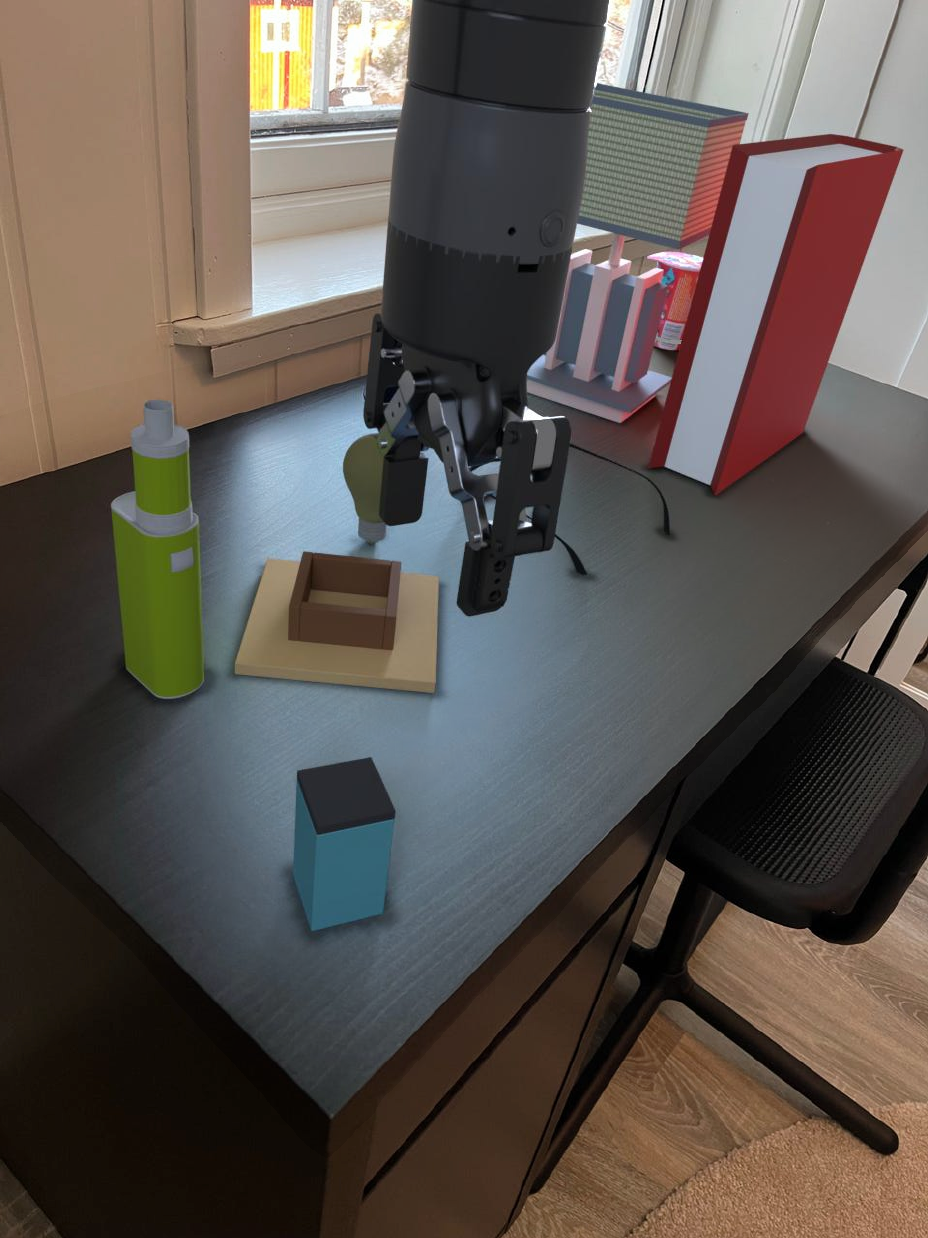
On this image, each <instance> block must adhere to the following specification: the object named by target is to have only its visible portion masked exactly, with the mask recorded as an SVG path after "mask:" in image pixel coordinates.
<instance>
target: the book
mask: <svg viewBox="0 0 928 1238" xmlns="http://www.w3.org/2000/svg"><path fill="white" fill-rule="evenodd" d="M903 153H904V149H903V148H901V147H898V146H895V145H891V144H886V143H881V142H876V141H871V140H868V139H862V138H858V137H853V136H850V135H849V136H848V135H842V134H835V133H827V134H819V135H809V136H800V137H790V138H783V139H772V140H765V141H756V142H755V141H754V142H748V143H747V142H745V143H740V144H737V145H733V146H732V150H731V154H730V158H729V162H728V166H727V169H726V173H725V177H724V181H723V185H722V188H721V192H720V196H719V200H718V204H717V207H716V211H715V215H714V219H713V223H712V227H711V230H710V234H709V236H708V239H707V242H706V246H705V250H704V254H703V256H702V258H703V261H702V265H701V268H700V272H699V276H698V280H697V284H696V288H695V291H694V295H693V299H692V303H691V307H690V310H689V314H688V318H687V322H686V326H685V330H684V333H683V337H682V341H681V345H680V349H679V350H678V353H677V357H676V360H675V364H674V368H673V371H672V376H671V378H672V379H671V383H670V384H669V387H668V391H667V395H666V398H665V402H664V407H663V410H662V413H661V418H660V422H659V425H658V429H657V433H656V436H655V440H654V444H653V448H652V451H651V455H650V459H649V463H648V467H647V468H648V469H653V468H667V469H670V470H672V471H674V472H677V473H680V474H681V475H684V476H686V477H689V478H692V479H694V480H696V481H699V482H701V483H704V484H706V485H709V486H710V488H711V490H712V493H713V496H717V495H718V494H719V493H721V492H722V491H724V490H725V489H726V488H728V487H729V486H731V485H733V484H734V483H735V482H737V481H738V480H739V479H741V478H742V477H743V476H744V475H745V476H746V474H748V473H749V472H751V471H752V470H753V469H755V468H756V467H757V466H759V465H760V464H762V463H763V462H765V461H766V460H767V459H768V458H770V457H771V456H773V455H774V454H775V453H777V452H778V451H780V450H781V449H783V448H784V447H785V446H787V445H788V444H789V443H791V442H792V441H794V440H795V439H797V438H798V437H799V436H800V435H802V434H803V433H804V431H805V428H806V426H807V423H808V420H809V417H810V415H811V411H812V409H813V406H814V404H815V401H816V398H817V394H818V392H819V389H820V387H821V384H822V382H823V381H822V380H823V378H824V375H825V373H826V369H827V367H828V363H829V361H830V359H831V355H832V352H833V350H834V347H835V344H836V341H837V340H838V339H837V338H838V336H839V334H840V331H841V327H842V324H843V322H844V319H845V316H846V313H847V310H848V307H849V305H850V302H851V299H852V296H853V293H854V291H855V288H856V286H857V282H858V280H859V276H860V274H861V271H862V269H863V266H864V263H865V260H866V256H867V254H868V252H869V248H870V246H871V243H872V240H873V238H874V235H875V233H876V229H877V226H878V223H879V221H880V218H881V215H882V212H883V209H884V206H885V203H886V201H887V198H888V195H889V192H890V189H891V187H892V184H893V181H894V180H895V179H894V178H895V175H896V173H897V170H898V167H899V165H900V161H901V159H902V156H903Z"/></svg>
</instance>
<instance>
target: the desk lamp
mask: <svg viewBox="0 0 928 1238" xmlns="http://www.w3.org/2000/svg"><path fill="white" fill-rule="evenodd" d="M589 109H590V110H591V115H590V122H589V131H588V147H587V164H586V175H585V182H584V189H583V194H582V199H581V205H580V210H579V215H578V221H577V225H581V226H585V227H589V228H593V229H595V230H596V229H597V230H599V231H605V232H607V233H613V236H612V242H611V246H610V250H609V255H608V259H607V260H605V261H603V262H600V263H598V264H596V265H595V264H591V261H592V256H593V250H591V249H587V248H584V249H582V250H579V251H577V252H574V253H573V252H572V254H571V259H570V264H569V270H568V275H567V280H566V286H565V291H564V296H563V302H562V307H561V313H560V318H559V323H558V329H557V334H556V339H555V342H554V344H553V346H552V347H551V349H550V350H549V351H548V352H547V353H545V354H544V355H542V356H541V357H540V358H539V359H538V360H537V361H536V362H535V363H534V364H533V365H532V366H531V367H530V369H529V371H528V373H527V394H532V395H534V396H536V397H537V396H538V397H541V398H543V399H547V400H549V401H552V402H554V403H555V402H556V403H558V404H562V405H564V406H568V407H569V408H574V409H576V410H578V411H579V410H580V411H583V412H586V413H588V414H591V415H595V416H598V417H601V418H604V419H607V420H609V421H613V422H616V423H618V424H621V423H623V422H624V421H626V419H628V418H629V417H631V416H632V415H633V414H634V413H636V412H637V411H638V410H640V409H641V408H642V407H643V406H644V405H646V404H648V403H649V402H650V401H651V400H652V399H654V398H655V397H656V396H657V394H658V393H659V392H661V391H662V390H663V389H664V388H666V387H667V386H668V385H670V383H671V379H672V376H668V375H665V374H661V373H658V372H655V371H652V370H649V368H650V363H651V359H652V355H653V352H654V348H655V346H654V344H655V339H656V335H657V331H658V327H659V323H660V319H661V315H662V311H663V307H664V303H665V299H666V294H667V290H668V286H669V285H666V284H662V283H661V279H662V275H663V271H664V270H662V269H659V268H657V267H654V268H652V269H650V270H648V271H645V272H644V273H642V274H640V275H637V276H635V275H632V274H630V271H631V265H632V260H628V259H624V258H622V254H623V250H624V245H625V240H626V237H628V238H632V239H636V240H639V241H643V242H647V243H652V244H655V245H658V246H662V247H667V248H670V249H674V250H678V251H679V250H682V249H683V248H685V247H687V246H690V245H692V244H695V243H696V242H698V241H700V240H702V239H704V238H707V237H709V234H710V230H711V227H712V223H713V219H714V215H715V211H716V207H717V204H718V200H719V196H720V192H721V188H722V185H723V181H724V177H725V173H726V169H727V166H728V162H729V158H730V154H731V150H732V146H733V145H737V144H741V142H742V137H743V133H744V130H745V126H746V123H747V121H748V117H749V115H750V113H749V112H744V111H739V110H735V109H730V108H729V109H728V108H725V107H719V106H714V105H709V104H704V103H699V102H694V101H689V100H684V99H679V98H673V97H669V96H663V95H659V94H654V93H650V92H645V91H638V90H635V89H629V88H624V87H618V86H613V85H609V84H603V83H598V82H596V87H595V92H594V98H593V103H592V106H591V107H589Z"/></svg>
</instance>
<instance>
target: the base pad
mask: <svg viewBox="0 0 928 1238" xmlns="http://www.w3.org/2000/svg"><path fill="white" fill-rule="evenodd" d="M263 568H264V569H263V572H262V575H261V578H260V581H259V584H258V588H257V590H256V593H255V597H254V600H253V604H252V607H251V610H250V613H249V616H248V618H247V619H248V620H247V622H246V625H245V628H244V632H243V636H242V639H241V642H240V645H239V648H238V651H237V655H236V658H235V661H234V674H235V675H239V676H249V677H260V678H270V679H280V680H292V681H302V682H310V683H311V682H313V683H322V684H323V683H324V684H333V685H343V686H353V687H354V686H355V687H363V688H364V687H366V688H375V689H376V688H377V689H385V690H386V689H387V690H395V691H397V690H398V691H408V692H418V693H428V694H434V693H435V691H436V684H437V660H438V659H437V657H438V656H437V653H438V621H439V618H438V617H439V590H440V589H439V588H440V587H439V586H440V576H438V575H431V574H421V573H411V572H403V571H402V561H400V560H399V561H398V560H389V559H380V558H371V557H360V556H351V555H342V554H332V553H324V552H314V551H306V550H305V551H302V554H301V558H300V561H299V560H298V561H297V560H288V559H280V558H279V559H278V558H268V557H267V559H266V562H265V565H264V567H263Z"/></svg>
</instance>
